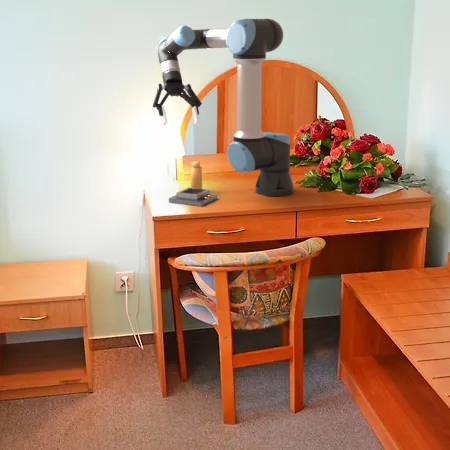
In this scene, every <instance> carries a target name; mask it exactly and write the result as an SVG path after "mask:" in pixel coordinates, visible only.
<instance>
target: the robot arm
mask: <svg viewBox="0 0 450 450" xmlns="http://www.w3.org/2000/svg"><path fill="white" fill-rule="evenodd" d="M283 30H284V29H283V28H282V26H281V25H280V23H279V22H278V21H276V20H274V19H273V18H242V19H238V20H237V19H236V20H235V21H234V22H232V23H231V25H230V26H229V27H222V28H221V27H220V28H206V29H203V28H202V29H193V28H191V26H188V25H185V24H184V25H181V26H179V27H178V28H176V29H175V30H174V31H173V32H172V33H171V35H169V36H170V37H169V38H168V37H164V38H162V37H161V38H162V39H161V40H160V42H159V46H158V53H157V58H158V62H159V66H160V71H161V77H162V83H163V84H162V83H158V85H157V87H156V89H157V90H156V94H155V98H154V101H153V103H152V107H153V108H156V110H157V111H158V115H159V116H160V117H161V122H162V125H166V124H167V123H168V117H167V114H166V109H165V106H163V105H164V103H165V102H166V100H167V99H168V98H169V96H170V97H180V98H181V99H183V100H184V101H185V102H186V103H188V105H189V106H190V107H191V112H192V117H193V118H192V119H193V122H194V125H197V124H198V123H199V122H200V119H199V114H200V111H199V107H201V105H202V104H203V103H202V101H201V100H200V99H199V97H198V96H197V94H196V93H195V91H194V89H192V85H191V84H190V83H187V84H185V85H184V84H183V77H182V73H181V68H180V64H179V59H178V55H180V54H182V52H183V51H186V50H200V49H201V50H205V49H206V50H207V48H211V49H223V48H224V49H226V48H227V49H228V51H229V53H231V54H232V59H233V60H234V62H236V64H237V67H236V68H237V70H236V71H237V74H236V75H237V83H236V84H237V89H236V90H237V95H236V96H237V130H236V131H235V133H233V139H232V140H233V141H232V142H231V143H230V144H229V145H228V146H227V149H226V156H227V161H228V162H229V165H230V166H231V167H232V169H234V171H236V172H239V173H241V174H242V173H252V172H255V171H258V170H259V173H258V177H257V178H256V182H255V186H254V193H255V194H258V195H260V196H265V197H284V196H288V195H289V196H290V195H292V194H293V193H294V192H295V185H294V182H293V179H292V178H293V177H292V176H291V173H290V171H291V169H290V168H291V166H290V165H291V162H290V161H291V142H290V141H291V140H290V139H291V138H290V136H289V134H286V133H279V132H271V131H270V132H269V131H264V132H263V131H262V64H263V62H264V61H265V60H266V59H267V53H270V52H273V51H275V50H276V49H278V48H279V47H280V46H281V44H282V42H283V40H284V31H283ZM165 41H166V42H165ZM165 46H166V47H165ZM168 51H169V52H170V53H169V52H168ZM163 90H164V91H165V92H166V93H165V94H164V96H163V97H162V99H161V100H160V97H161V95H162V91H163ZM159 100H160V102H159Z"/></svg>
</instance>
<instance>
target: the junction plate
mask: <svg viewBox="0 0 450 450" xmlns="http://www.w3.org/2000/svg"><path fill="white" fill-rule="evenodd" d="M215 200H218V194H215V193H210V189H205V188H202V189H198V188H191V187H187V188H184V189H183V190H180V191H177V192H176V194H175V195H173V196H171V197H169V198H168V202H169V203H173V204H180V205H186V206H187V205H189V206H195V207H203V206H205V205H208V204H209V203H211V202H213V201H215Z"/></svg>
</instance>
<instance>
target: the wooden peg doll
mask: <svg viewBox="0 0 450 450" xmlns="http://www.w3.org/2000/svg"><path fill="white" fill-rule="evenodd" d="M189 168H190V169H189V170H190V188H198V189H203V168H202V166H201V162H200V161H191V167H189Z"/></svg>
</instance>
